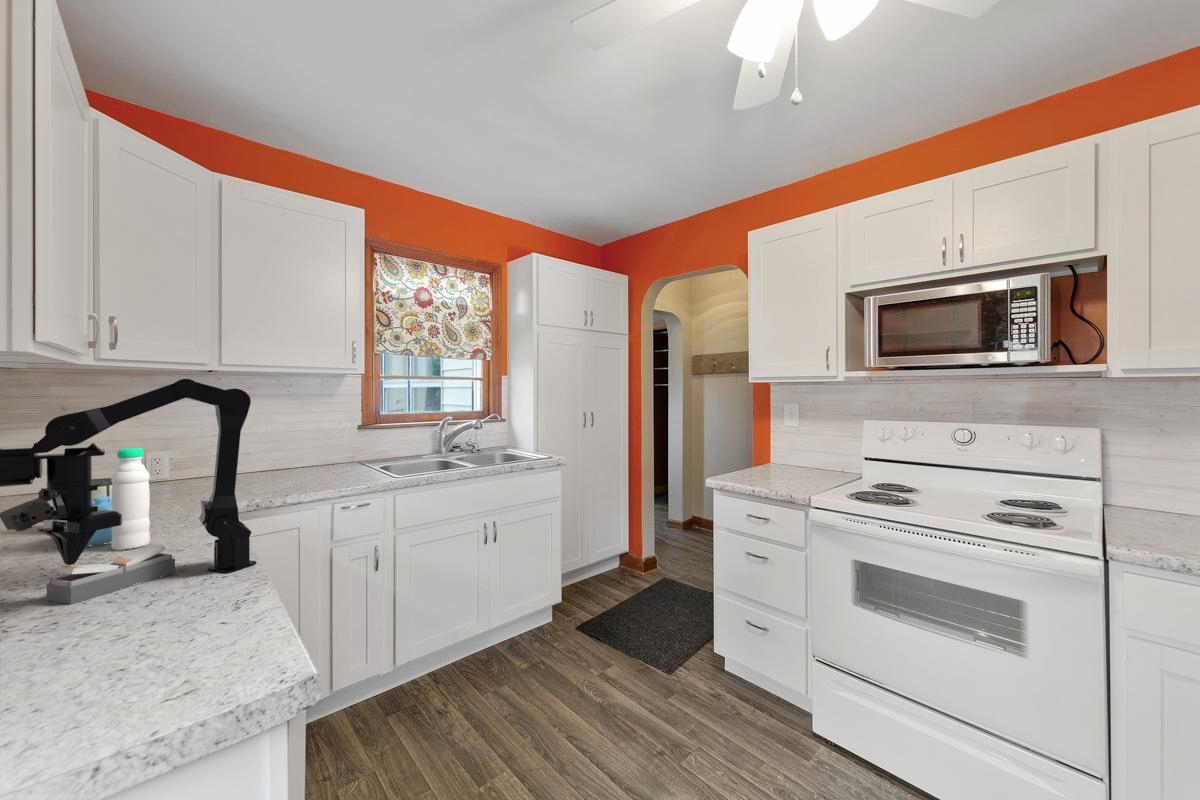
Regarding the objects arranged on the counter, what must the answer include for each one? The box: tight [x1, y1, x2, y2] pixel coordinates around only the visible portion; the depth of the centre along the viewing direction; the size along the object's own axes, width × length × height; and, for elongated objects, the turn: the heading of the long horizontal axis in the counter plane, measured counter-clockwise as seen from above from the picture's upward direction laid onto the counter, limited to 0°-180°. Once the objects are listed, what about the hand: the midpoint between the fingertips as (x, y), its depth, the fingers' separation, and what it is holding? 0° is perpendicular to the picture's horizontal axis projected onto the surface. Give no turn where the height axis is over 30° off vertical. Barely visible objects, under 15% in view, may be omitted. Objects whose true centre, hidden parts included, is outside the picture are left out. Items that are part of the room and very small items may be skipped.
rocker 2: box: [112, 543, 166, 567], centre depth 103 cm, size 4×7×1 cm, turn 163°
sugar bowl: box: [86, 496, 113, 547], centre depth 131 cm, size 15×15×12 cm
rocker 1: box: [57, 563, 118, 575], centre depth 95 cm, size 4×7×1 cm, turn 163°
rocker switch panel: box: [46, 552, 176, 605], centre depth 99 cm, size 7×17×4 cm, turn 163°
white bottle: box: [110, 447, 151, 551], centre depth 124 cm, size 7×7×25 cm
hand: (70, 564), depth 92 cm, fingers closed
